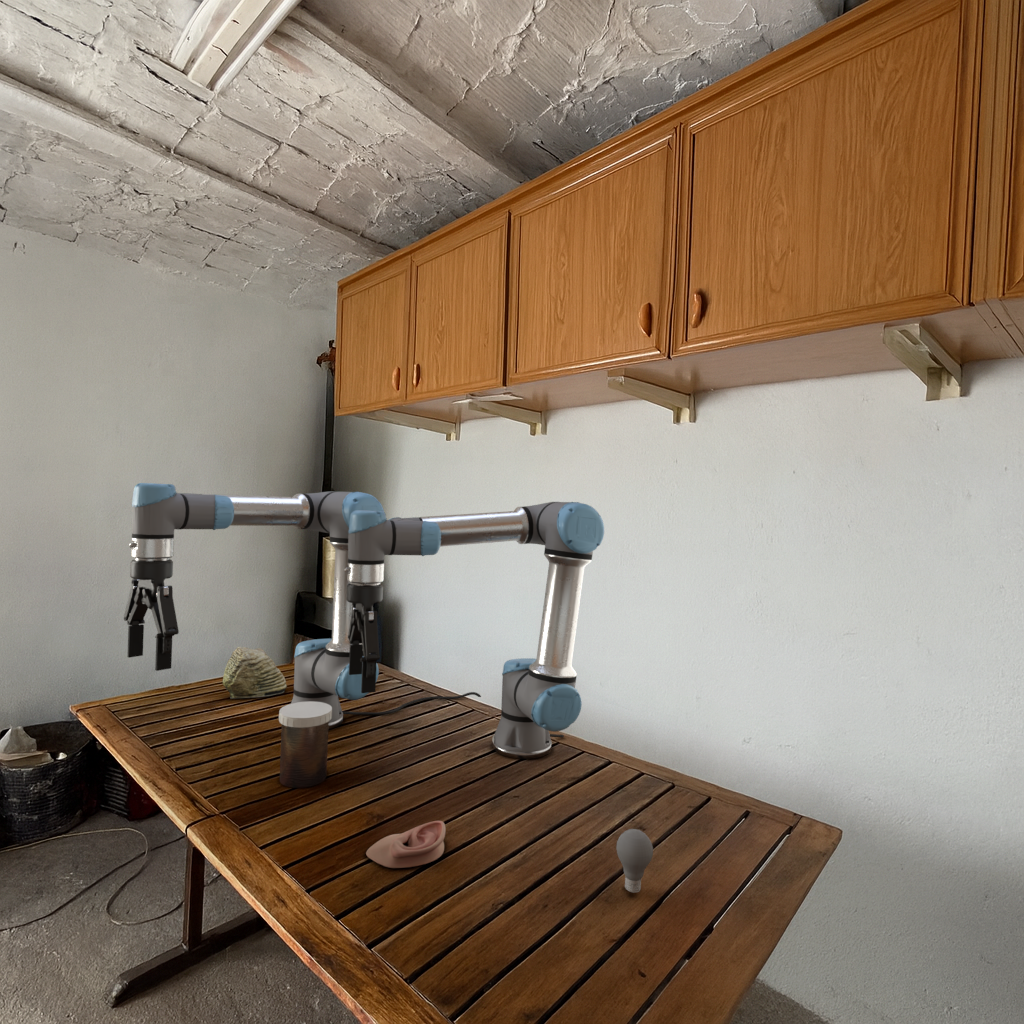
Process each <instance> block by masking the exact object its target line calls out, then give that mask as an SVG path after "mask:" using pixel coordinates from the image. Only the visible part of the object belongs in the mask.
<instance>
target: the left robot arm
mask: <svg viewBox="0 0 1024 1024" xmlns="http://www.w3.org/2000/svg"><path fill="white" fill-rule="evenodd" d="M356 510H368V511H383V512H385V511H384V508H383V505H382V503H381V502H380V501H379V500H378V498H377V497H375V495H373V494H370V493H367V492H363V491H362V492H361V491H337V490H336V491H335V490H333V491H332V490H330V491H321V492H311V493H295V494H294V495H293V496H276V495H275V496H274V495H273V496H272V495H248V494H247V495H246V494H244V495H243V494H220V493H219V494H218V493H217V494H216V493H215V494H214V493H189V492H187V493H186V492H177V491H176V486H175V485H174V484H173V483H152V482H139V483H137V484H136V485H135V486H134V488H133V492H132V501H131V520H132V521H131V542H130V543H128V547H129V548H130V549H131V550H130V556H131V558H133V559H132V560H131V561H130V567H129V568H130V571H129V574H130V575H129V576H130V578H131V581H130V590H129V594H128V598H127V603H126V607H125V610H124V615H123V621H124V622H126V624H127V626H128V629H127V630H128V631H127V658H135V657H142V656H144V635H145V634H144V630H145V625H144V624H145V623H146V621H145V619H144V618H145V616H146V615H147V612H148V609H149V610H151V613H152V618H153V620H154V624H155V627H156V631H157V633H156V635H155V636H154V638H155V661H154V663H155V665H154V668H155V669H154V670H155V671H157V672H159V671H164V670H169V669H172V659H173V657H172V655H173V637H175V636H176V635H179V632H180V631H179V625H178V619H177V615H176V614H177V613H176V609H175V603H174V597H173V595H174V593H173V585H165V580H167V579H171V578H172V577H173V575H174V573H173V572H174V561H173V560H172V559H171V558H173V557H174V554H175V553H174V552H175V530H213V531H215V530H224V529H228V528H230V526H233V527H234V526H237V527H238V526H240V527H243V526H246V527H247V526H249V527H250V526H258V527H259V526H268V527H269V526H276V527H277V526H282V527H284V526H285V527H286V526H287V527H288V526H289V527H290V526H291V527H293V528H294V529H296V530H308V531H309V530H310V531H316V532H319V533H325V534H329V544H330V545H331V546H332V547H333V548H334V550H335V551H334V572H333V573H334V577H333V599H332V625H331V626H332V627H331V638H317V639H308V640H304V641H300V642H299V643H297V645H296V646H295V650H294V655H293V657H294V672H293V673H294V674H293V695H292V696H293V697H292V699H291V702H290V704H292V703H297V702H307V701H314V702H323V703H326V704H329V705H330V706H331V707H332V718H331V720H330V721H329V726H328V731H329V730H332V729H335V728H337V727H339V726H340V725H342V723H343V722H344V715H351V716H384V715H390V714H393V713H397V712H398V711H400V710H402V709H404V708H405V707H407V706H410V705H413V704H415V703H418V702H422V701H427V700H457V699H458V700H459V699H463V698H465V697H468V696H472V695H473V696H476V697H478V698H481V697H482V695H481V694H480V693H478V692H475V691H470V692H466V693H464V694H460V695H454V696H443V695H441V696H439V695H437V696H436V695H435V696H425V697H420V698H416V699H413V700H411V701H408V702H405V703H403V704H402V705H400V706H398V707H396V708H395V709H392V710H391V709H390V710H386V711H375V712H373V711H371V712H370V711H343V709H342V706H341V702H340V699H339V698H341V699H342V700H343V699H344V700H348V701H349V700H350V701H357V700H360V699H362V698H364V697H365V696H367V695H368V694H369V693H361V685H362V674H356V675H349V657H350V645H352V644H350V642H349V640H350V639H348V634H349V627H350V620H351V613H352V603H350V602H348V601H347V600H346V595H347V585H348V584H349V583H350V582H349V581H348V580H347V575H348V572H345V568H347V567H348V536H349V533H348V531H349V524H350V515H351V513H352V512H353V511H356ZM361 644H362V643H361ZM362 657H364V655H362ZM379 669H380V668H379V665H378V663H377V662H376V682H378V678H379V674H380V672H379V671H380V670H379Z"/></svg>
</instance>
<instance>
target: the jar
mask: <svg viewBox="0 0 1024 1024" xmlns="http://www.w3.org/2000/svg"><path fill="white" fill-rule="evenodd" d="M328 726H329V721H328V722H327V723H325V724H322V725H318V726H314V727H304V728H296V727H289V726H285V725H282V724H281V731H280V732H281V733H280V734H281V735H280V740H281V741H280V757H279V758H280V760H279V763H280V764H279V783H280V784H281V785H282V786H285V787H288V788H292V789H294V788H295V789H305V788H309V787H310V788H311V787H314V786H317V785H320V784H321V783H323V782H324V781H325V780H326V778H327V777H328V776H327V775H328V773H327V772H328V753H329V752H328V751H329V750H328V749H329V730H328Z"/></svg>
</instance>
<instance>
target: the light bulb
mask: <svg viewBox="0 0 1024 1024" xmlns="http://www.w3.org/2000/svg"><path fill="white" fill-rule="evenodd" d="M615 849H616V854H617V857H618V859H619V861H620V863H621V865H622V867H623V873H624V874H623V875H624V876H625V878H624V888H625V890H627V891H628V892H630V893H634V894H635V893H639V892H640V891H641V889H642V887H641V886H642V879H643V877H644V875H645V871H646V868H647V867H648V866H649V864H650V863H651V861H652V859H653V855H654V847H653V843H652V841H651V838H649V836H648V835H647V834H646V833H645V832H643V831H642V830H641V829H636V828H629V829H627V830H625V831H623V832H622V833H621V834H620V835H619V837H618V839H617V841H616V847H615Z"/></svg>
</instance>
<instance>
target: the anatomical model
mask: <svg viewBox="0 0 1024 1024" xmlns="http://www.w3.org/2000/svg"><path fill="white" fill-rule="evenodd" d="M446 830H447V829H446V824H445V822H444V821H443V820H434V821H429V822H426V823H423V824H420V825H417V826H416V827H413V828H411V829H408V830H406V831H404V832H402V833H394V834H389V835H387V836H384V837H383V838H381V839H379V840H378V841H376V842H375V843H374V844H372V845H371V846H370V847H369V848H367V850H366V851H365V854H366V855H365V856H367V858H369V860H370V861H371V860H372V861H373V862H375V863H377V864H378V865H381V866H383V867H385V868H390V869H403V868H412V867H418V866H422V865H426V864H429V863H431V862H434V861H436V860H438V859H439V858H440V857H442V856H443V854H444V851H445V842H444V839H445V837H446V833H447V832H446Z"/></svg>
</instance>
